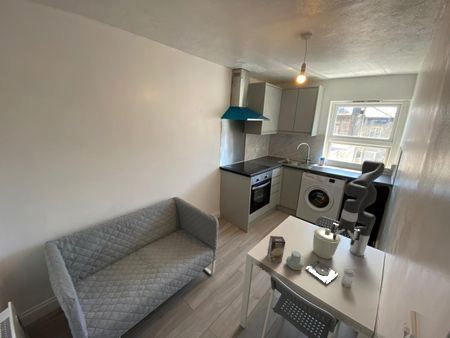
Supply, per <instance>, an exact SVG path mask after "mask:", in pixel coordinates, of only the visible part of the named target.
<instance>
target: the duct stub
mask: <svg viewBox="0 0 450 338" xmlns="http://www.w3.org/2000/svg"><path fill="white" fill-rule="evenodd" d="M355 276H356V273H355V271H354V270H352V269H351V268H344V270H343V275H342V280H341V284H342V285H343V286H344V287H346V288H351V287H352V284H353V281H354V277H355Z"/></svg>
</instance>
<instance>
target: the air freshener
mask: <svg viewBox="0 0 450 338" xmlns="http://www.w3.org/2000/svg"><path fill="white" fill-rule="evenodd" d="M301 258H302V253H300V252H299V251H296V250H294V251H292V252H291V254H290V255H289V256H287V257H286V260H285V263H286V264H287V266H288V267H289V268H290V269H292V270H294V271H301V270H302V269H303V268H304V261H303V260H302V259H301Z"/></svg>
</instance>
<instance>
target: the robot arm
mask: <svg viewBox="0 0 450 338" xmlns="http://www.w3.org/2000/svg"><path fill="white" fill-rule="evenodd" d="M384 172H385V163H384V162H382V161H378V160H377V161H376V160H371V159H370V160H368V159H366V160H364V161H363V163H362V166H361V174H360V175H359V176H358V177H356V179H354V180H352V181H350V182H348V183H347V184H346V185H345V186H344V187H343V188H344V189H343V190H344V194H345V195H347V196H349V197H353V198H356V199H349V198H348V199H346V200H345V202H344V206H343V209H342V211H341V217H340V220H339V223H338V224H337V223H336V222H333V223H332V224H331V227H330V228H331V229H330V230H331V233H333V239H334V240H335V239H336V235H337V234H338V235H339V234H345V235H346V236H350V238H351V240H350V243H349V244H350V247H349V251H350V253H352V254H353V255H355V256H358V257H363V256H364V255H365V252H366V249H367V246H368V244H369V243H368V242H369V239H370V236H371V234H372V233H371V232H372V230H373V227H374V225H375V222H376V216H375V214H372V213H370V212H368V211H367V212H366V211H365V209H366V208H367V207H369V206H371V205H372V204H373V203H375V202H376V200H377V199H376V198H377V195H378V194H377V193H378V192H377V189H376V187H375V185H374V184H373V182H374V181H376V180H377V179H378V178H380V177H381V176H382V175H383V174H384ZM356 223H359V224H361V225H364V226H361V225H359V226H358V225H357V226H356ZM335 228H337V229H336V230H335Z"/></svg>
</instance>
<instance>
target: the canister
mask: <svg viewBox="0 0 450 338" xmlns="http://www.w3.org/2000/svg"><path fill="white" fill-rule="evenodd" d="M341 241H342V237H341V235H339V234H337V235H336V239H335V240H334V239H333V233H331V229H330V228H326V227H316V228H314V229H313V242H312V248H313V249H312V250H313V252H314V254H316V256H318V257H319V258H321V259H324V260H326V259H327V260H329V259H332V258H333V257H334V255H335V253H336V251H337V249H338V246H339V243H340V242H341Z"/></svg>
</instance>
